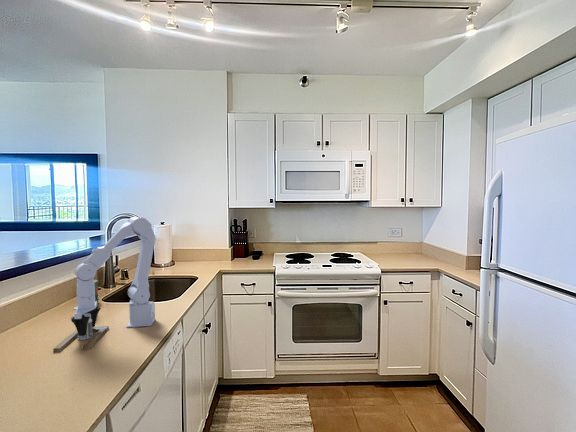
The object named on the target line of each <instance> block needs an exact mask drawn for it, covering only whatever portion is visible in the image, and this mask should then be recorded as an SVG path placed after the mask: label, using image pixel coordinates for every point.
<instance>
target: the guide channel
mask: <svg viewBox="0 0 576 432" xmlns="http://www.w3.org/2000/svg"><path fill="white" fill-rule="evenodd" d="M105 333H107V331H106V329H100V330H99V331H98V332H97V333H94V335H93V336H92V337H91V338H89V340H87V341H86V342H85V344H84V345H82V348H81V349H82V351H87V350H90V349H91V348H92V347H93V346H94V345H95V344H96V343H97V342H98V341H99V340H100V338H102V337H103V336H104V334H105ZM77 338H78V331H75V330H74V331H72V332H71V333H70V334H69V335H68V336H67V337H65V338H64V339H63V340H62V341H60V343H58V344H57V345H56V346H54V347H53V348H52V350H53V352H52V353H60V352H61V351H62V350H63V349H65V347H67V346H69V344H71V342H73V341H74V340H75V339H77Z"/></svg>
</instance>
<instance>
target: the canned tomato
mask: <svg viewBox="0 0 576 432" xmlns="http://www.w3.org/2000/svg"><path fill="white" fill-rule="evenodd" d="M98 283H99V280H98V279H94V285H95V301H97V304H98V303H99V292H98V291H99V285H98Z"/></svg>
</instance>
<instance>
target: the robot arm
mask: <svg viewBox="0 0 576 432" xmlns="http://www.w3.org/2000/svg"><path fill="white" fill-rule="evenodd" d="M134 235H136V236H137V237H138V238H139V239H140V241H141V242H140V248H139V253H138V258H137V264H136V269H135V274H134V278H133V279H132V281H131V285H130V287H129V288H127V296H128V297H129V298H130V299H129V303H128V306H129V322H128V324H127V325H126V328H136V327H138V328H139V327H151V326H152V325H153V324H154V322H155V320H156V305H155V302H154V301H149V299H150V298H151V293H150V284H149V276H150V269H151V266H152V265H151V264H152V261H153V260H152V259H153V255H154V249H155V243H156V235H155V232H154V230H153V226H152V224H151V222H150V221H148V219H146V218H145V217H140V216H139V217H138V216H131V217H129V219H128V220H127V221H125V222H124V223H122V225H121V226H120V227H119V229H118V230H116V231H115V233H114V234H113V235H112V236H111V237H110V239H108V241H107V242H105V244H104V245H103V246H98V247H96V248H93V249H92V250H91V254H90V255H89V256H88V257H87V258H86V259H83V260H82V261H81V262H82V263H80V264H78V265H77V266H76V268H75V270H74V274H75V276H76V307H74V308H73V310H74V311H75V313H74V314H73V316H72V318H71V317H70V321H71V322H72V323H73V325H74V326H75V328H76V329H77V331H78V334H79V336H85V335H86V332H87V324H88V321H89V318H90V317H85V316H84V314H86V313H89V314H91V318H90V319H92V327H96V323H97V317H98V314H100V313H99V312H100V310H101V306H98V303H97V301H95V285H94V280H95V279H94V278H95V276H96V275H97V271H98V270H99V269H100V268H102V266H103V265H104V264H105V263H106V262H107V261H108V260H109V259H110V258H111V252H112V250H113V249H115V248H116V247H117V246H118V245H119V244H120V243H121V242H122V241H123V240H124V239H126V237H131V236H134ZM76 329H75V330H76Z"/></svg>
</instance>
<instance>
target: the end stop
mask: <svg viewBox="0 0 576 432" xmlns="http://www.w3.org/2000/svg"><path fill="white" fill-rule="evenodd" d="M100 329H106V332H107V331H108V330H109V325H103V326H95V327H92V330H93V334H96V333H97V332H98V331H99V330H100ZM74 331H77V329H75V330H74Z"/></svg>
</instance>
